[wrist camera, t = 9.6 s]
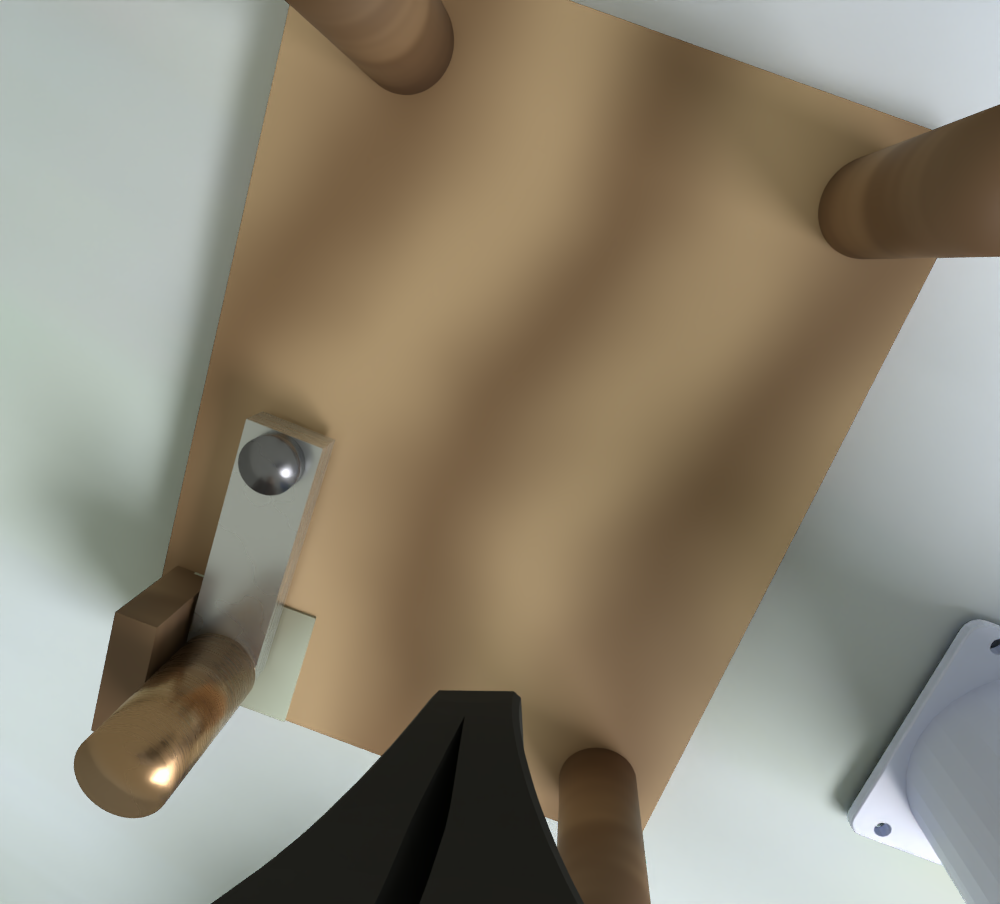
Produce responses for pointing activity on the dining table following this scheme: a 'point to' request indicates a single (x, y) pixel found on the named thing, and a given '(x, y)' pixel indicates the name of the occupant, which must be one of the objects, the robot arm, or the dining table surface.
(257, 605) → the hinged leg
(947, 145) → the stool seat
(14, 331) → the dining table surface
